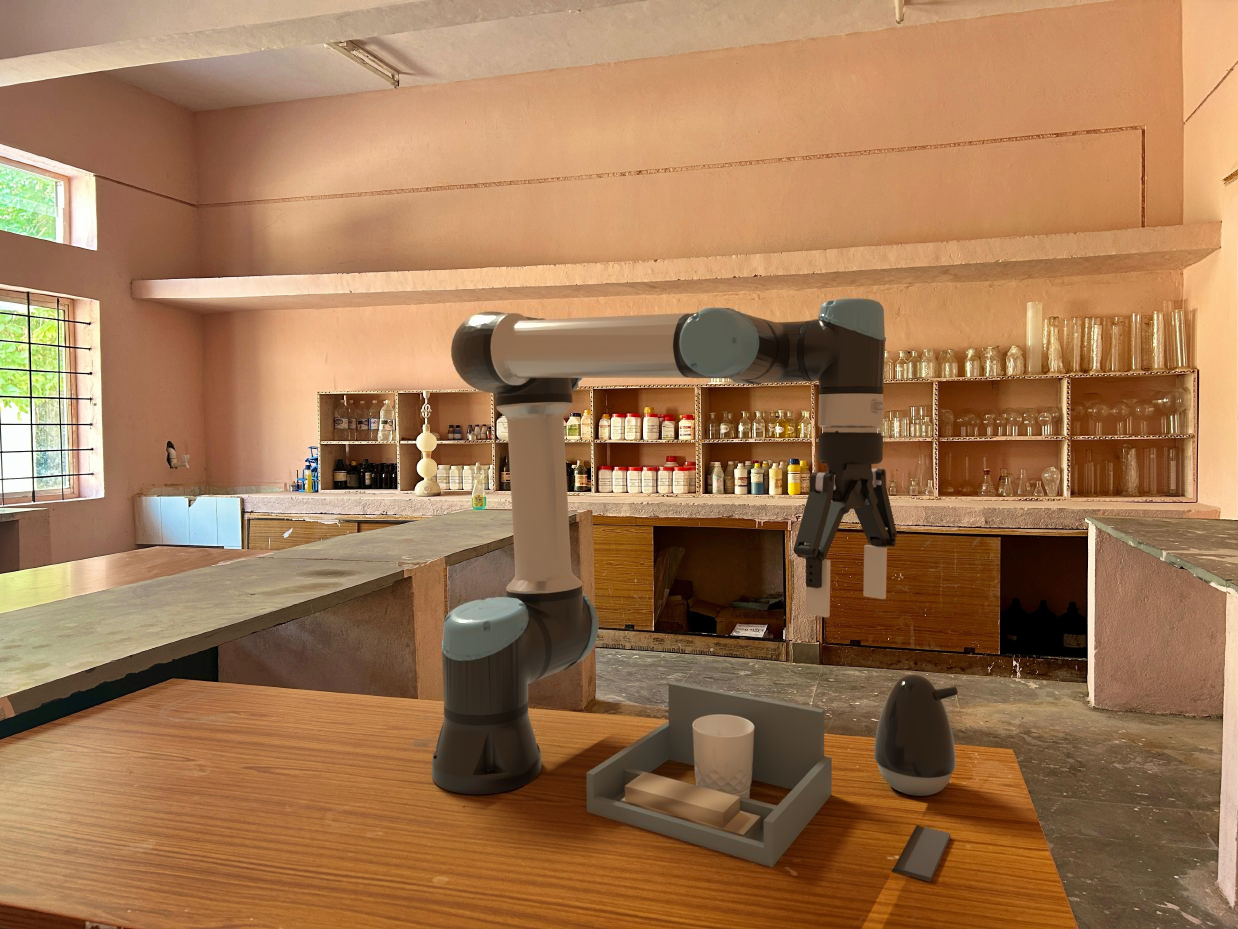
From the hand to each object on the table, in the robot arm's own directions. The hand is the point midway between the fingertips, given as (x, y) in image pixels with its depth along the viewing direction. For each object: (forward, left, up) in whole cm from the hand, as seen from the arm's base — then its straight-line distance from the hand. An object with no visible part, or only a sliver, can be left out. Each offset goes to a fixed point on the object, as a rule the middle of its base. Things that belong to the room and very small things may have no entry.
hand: (847, 606), depth 99 cm
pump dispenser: (+5, +13, -27) cm, 30 cm away
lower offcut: (-15, -13, -25) cm, 32 cm away
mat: (+6, -4, -26) cm, 27 cm away
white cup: (-15, -4, -27) cm, 31 cm away
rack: (-15, -7, -26) cm, 31 cm away
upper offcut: (-16, -13, -23) cm, 31 cm away
